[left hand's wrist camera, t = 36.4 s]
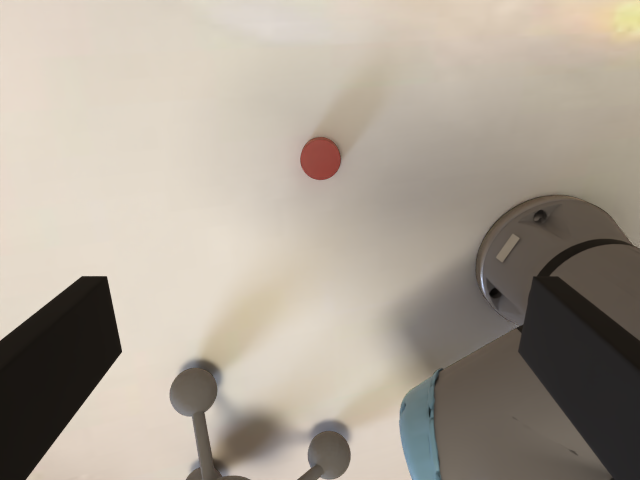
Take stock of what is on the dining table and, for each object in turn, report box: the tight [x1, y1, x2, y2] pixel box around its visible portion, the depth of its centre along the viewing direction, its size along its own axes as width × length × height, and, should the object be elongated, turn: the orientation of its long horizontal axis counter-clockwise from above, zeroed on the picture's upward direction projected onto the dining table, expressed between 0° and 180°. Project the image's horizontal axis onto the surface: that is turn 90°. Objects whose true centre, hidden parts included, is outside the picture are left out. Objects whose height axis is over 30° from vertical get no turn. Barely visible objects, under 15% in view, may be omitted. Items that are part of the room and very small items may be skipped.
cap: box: [301, 137, 341, 180], centre depth 41 cm, size 4×4×2 cm
